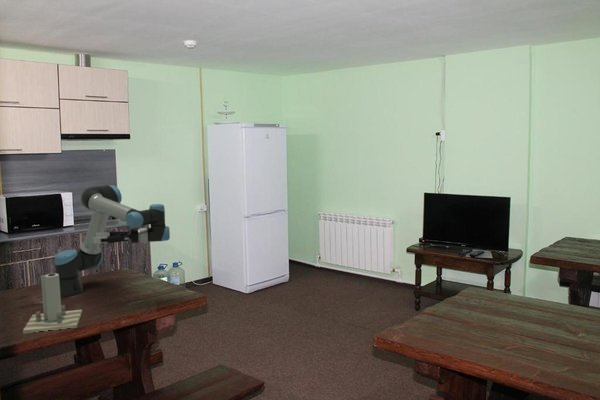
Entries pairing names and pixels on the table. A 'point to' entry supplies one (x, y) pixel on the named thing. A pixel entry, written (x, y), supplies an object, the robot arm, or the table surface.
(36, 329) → the plate
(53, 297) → the paper towel roll
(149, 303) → the table surface
